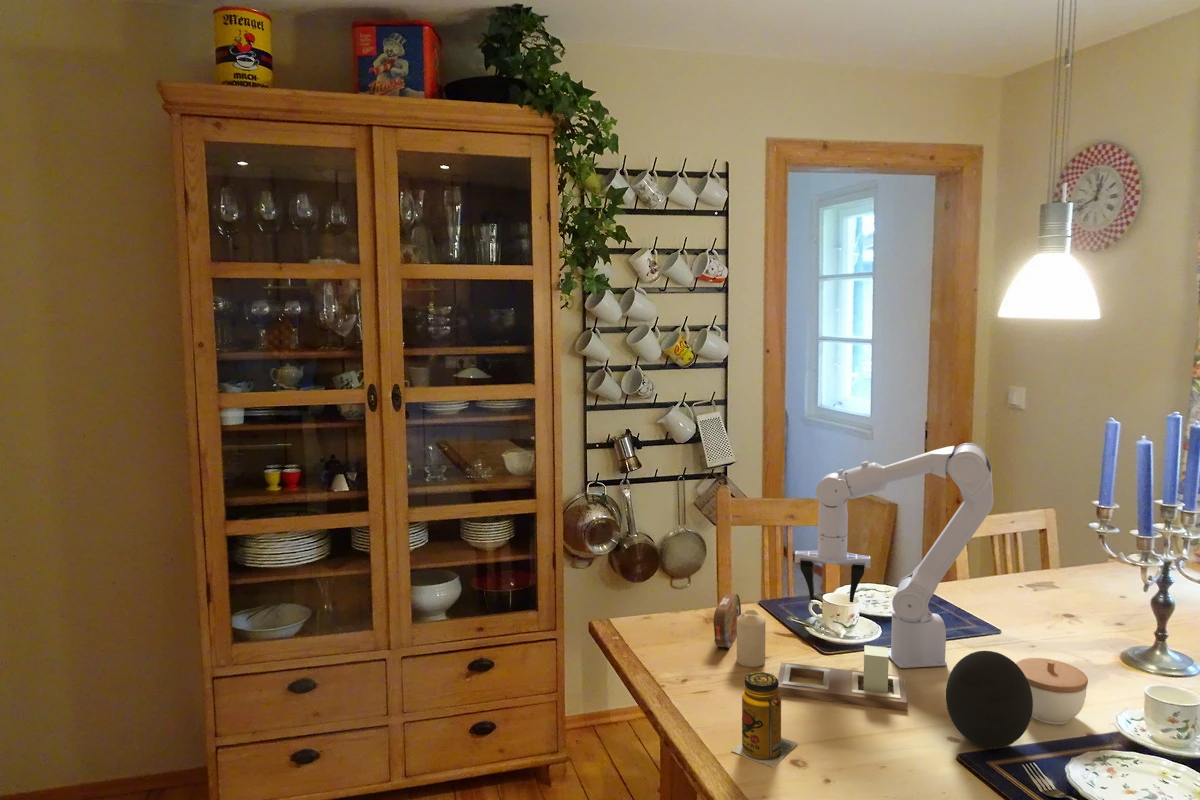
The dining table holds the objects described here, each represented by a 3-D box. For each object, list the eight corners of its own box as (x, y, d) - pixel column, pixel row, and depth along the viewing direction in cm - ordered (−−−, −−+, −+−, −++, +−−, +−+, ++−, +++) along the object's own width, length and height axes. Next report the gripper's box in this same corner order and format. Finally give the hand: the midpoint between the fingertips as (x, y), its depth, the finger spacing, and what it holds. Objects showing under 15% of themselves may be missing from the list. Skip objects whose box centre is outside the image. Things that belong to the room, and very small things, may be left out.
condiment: (731, 752, 127) (731, 680, 126) (757, 729, 133) (758, 660, 132) (772, 768, 122) (773, 694, 121) (798, 744, 129) (799, 673, 127)
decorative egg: (949, 716, 136) (952, 631, 134) (1032, 735, 130) (1036, 646, 128) (938, 752, 126) (942, 661, 124) (1028, 774, 119) (1033, 678, 117)
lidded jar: (1084, 738, 129) (1087, 683, 127) (1009, 721, 134) (1012, 667, 133) (1086, 709, 138) (1089, 656, 136) (1015, 694, 143) (1018, 643, 142)
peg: (886, 689, 146) (887, 647, 145) (887, 700, 142) (888, 657, 141) (863, 687, 147) (864, 645, 146) (863, 697, 143) (864, 654, 142)
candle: (765, 668, 155) (765, 619, 154) (736, 666, 156) (736, 617, 155) (765, 656, 160) (765, 608, 159) (737, 654, 161) (737, 606, 160)
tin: (726, 654, 161) (726, 614, 160) (711, 652, 162) (711, 612, 161) (742, 626, 175) (742, 588, 174) (728, 624, 176) (728, 587, 175)
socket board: (903, 683, 148) (903, 675, 147) (906, 710, 138) (907, 701, 138) (781, 669, 154) (781, 661, 154) (776, 694, 145) (776, 685, 145)
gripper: (794, 536, 160) (793, 602, 162) (871, 542, 155) (869, 609, 157) (796, 526, 167) (795, 590, 168) (870, 531, 162) (869, 596, 164)
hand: (831, 598), depth 163 cm, fingers open, 7 cm apart
